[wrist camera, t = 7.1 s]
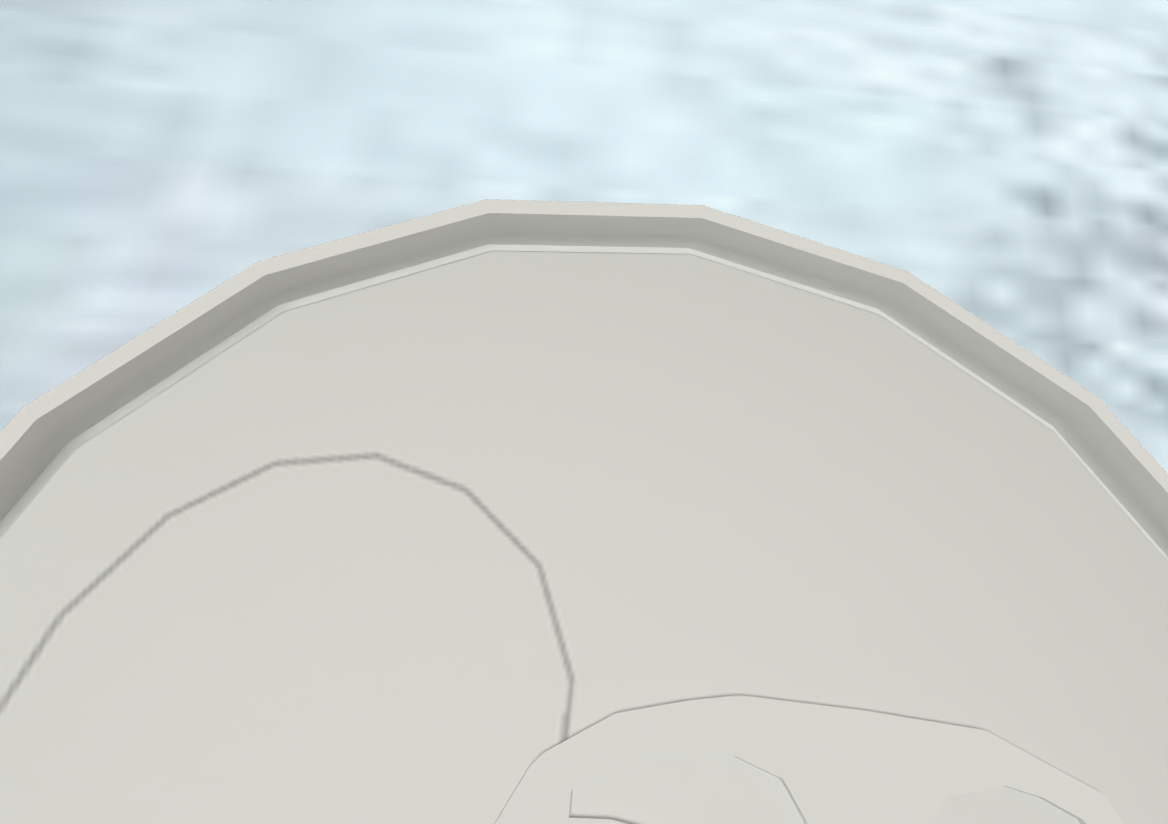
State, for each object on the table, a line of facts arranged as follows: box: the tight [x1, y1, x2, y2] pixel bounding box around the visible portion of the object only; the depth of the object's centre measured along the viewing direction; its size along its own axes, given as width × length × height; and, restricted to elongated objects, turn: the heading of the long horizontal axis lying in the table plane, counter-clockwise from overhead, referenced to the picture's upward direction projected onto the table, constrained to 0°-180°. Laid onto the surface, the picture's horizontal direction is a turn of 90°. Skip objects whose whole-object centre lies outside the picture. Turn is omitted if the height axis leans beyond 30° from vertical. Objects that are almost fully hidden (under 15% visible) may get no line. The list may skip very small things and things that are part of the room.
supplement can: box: [0, 199, 1168, 824], centre depth 10 cm, size 8×8×15 cm
